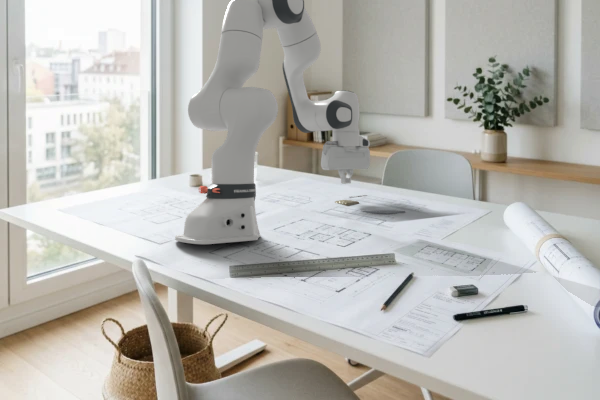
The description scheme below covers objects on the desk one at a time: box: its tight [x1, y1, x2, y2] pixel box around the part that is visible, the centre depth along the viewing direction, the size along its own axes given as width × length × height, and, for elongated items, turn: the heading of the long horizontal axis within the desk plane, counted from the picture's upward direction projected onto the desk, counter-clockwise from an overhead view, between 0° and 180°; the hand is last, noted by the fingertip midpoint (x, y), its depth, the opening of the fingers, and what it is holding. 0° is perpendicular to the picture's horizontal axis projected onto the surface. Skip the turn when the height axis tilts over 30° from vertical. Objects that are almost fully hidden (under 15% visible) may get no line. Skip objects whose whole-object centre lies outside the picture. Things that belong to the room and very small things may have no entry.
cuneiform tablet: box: [334, 194, 368, 207], centre depth 198 cm, size 7×4×12 cm
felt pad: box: [362, 209, 406, 215], centre depth 188 cm, size 9×10×1 cm
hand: (345, 183), depth 198 cm, fingers closed
